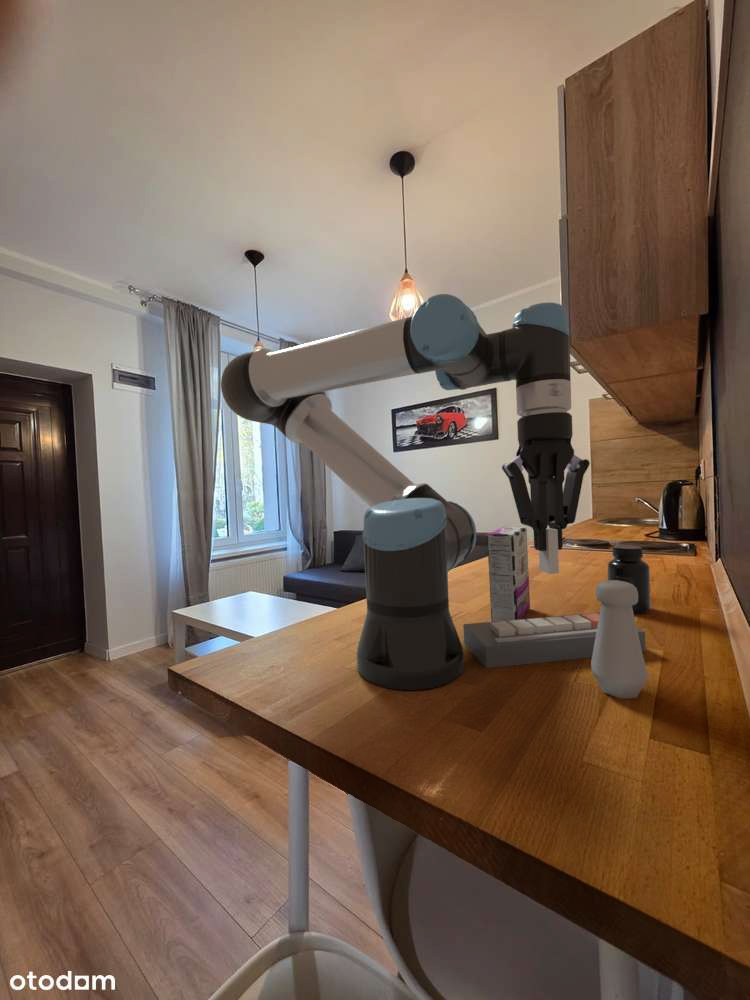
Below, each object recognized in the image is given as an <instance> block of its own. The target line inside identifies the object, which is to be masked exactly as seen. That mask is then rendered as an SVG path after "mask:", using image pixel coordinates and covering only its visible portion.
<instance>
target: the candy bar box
mask: <svg viewBox="0 0 750 1000" xmlns="http://www.w3.org/2000/svg"><path fill="white" fill-rule="evenodd" d="M527 527H528V526H527ZM527 527H525V526H503V527H500V528H499V529H498V528H497V529H496V530H494V531H491V532H490V533H487V534H486V536H487V537H486V538H487V539H486V541H487V557H488V558H487V559H488V573H489V575H488V577H489V579H488V580H489V594H490V597H489V598H490V599H489V600H490V617H491V618H490V620H491V621H490V622H495V621H506V620H518V619H524V617H525V615H526V614H527V613H528V611H529V610H530V609H531V601H530V600H531V599H530V579H529V555H528V535H527V529H528V528H527Z"/></svg>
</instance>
